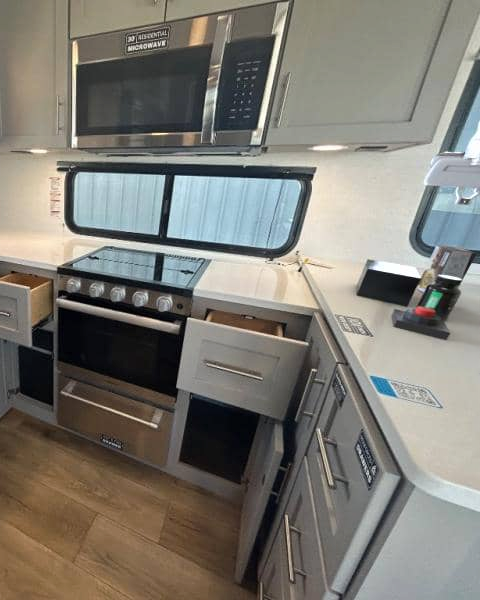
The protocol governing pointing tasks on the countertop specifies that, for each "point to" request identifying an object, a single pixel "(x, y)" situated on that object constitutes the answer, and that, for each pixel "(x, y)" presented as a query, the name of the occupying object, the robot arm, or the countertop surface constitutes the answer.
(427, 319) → the control block
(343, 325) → the countertop surface
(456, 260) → the coffee box
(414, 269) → the bin lid
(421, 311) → the button
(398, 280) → the bin
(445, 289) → the supplement bottle
